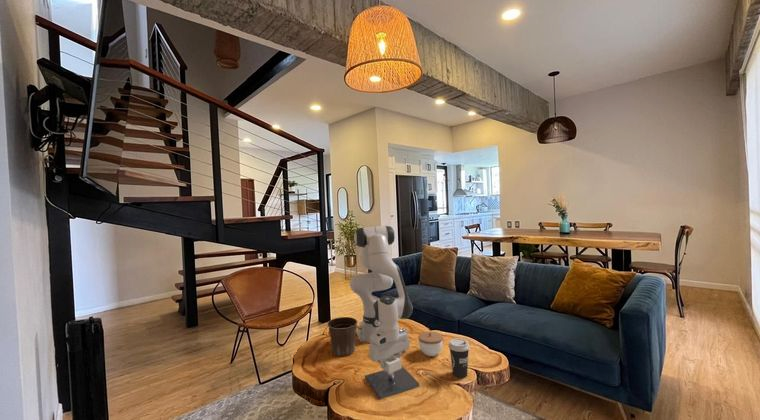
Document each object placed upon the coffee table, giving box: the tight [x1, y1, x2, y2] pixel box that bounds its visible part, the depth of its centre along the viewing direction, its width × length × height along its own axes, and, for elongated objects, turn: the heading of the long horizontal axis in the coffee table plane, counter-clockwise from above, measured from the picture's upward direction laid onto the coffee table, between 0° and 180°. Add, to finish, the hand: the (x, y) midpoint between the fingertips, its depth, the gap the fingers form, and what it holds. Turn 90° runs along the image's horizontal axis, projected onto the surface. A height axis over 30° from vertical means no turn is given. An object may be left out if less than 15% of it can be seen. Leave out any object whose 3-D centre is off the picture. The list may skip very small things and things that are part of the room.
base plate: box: [364, 365, 420, 400], centre depth 144 cm, size 17×19×7 cm
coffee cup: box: [448, 337, 471, 379], centre depth 148 cm, size 10×10×15 cm
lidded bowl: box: [417, 330, 444, 357], centre depth 169 cm, size 13×13×11 cm
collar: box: [379, 354, 403, 374], centre depth 144 cm, size 7×7×4 cm
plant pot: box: [327, 316, 358, 357], centre depth 176 cm, size 16×16×16 cm
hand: (390, 364), depth 144 cm, fingers closed on collar, 7 cm apart
